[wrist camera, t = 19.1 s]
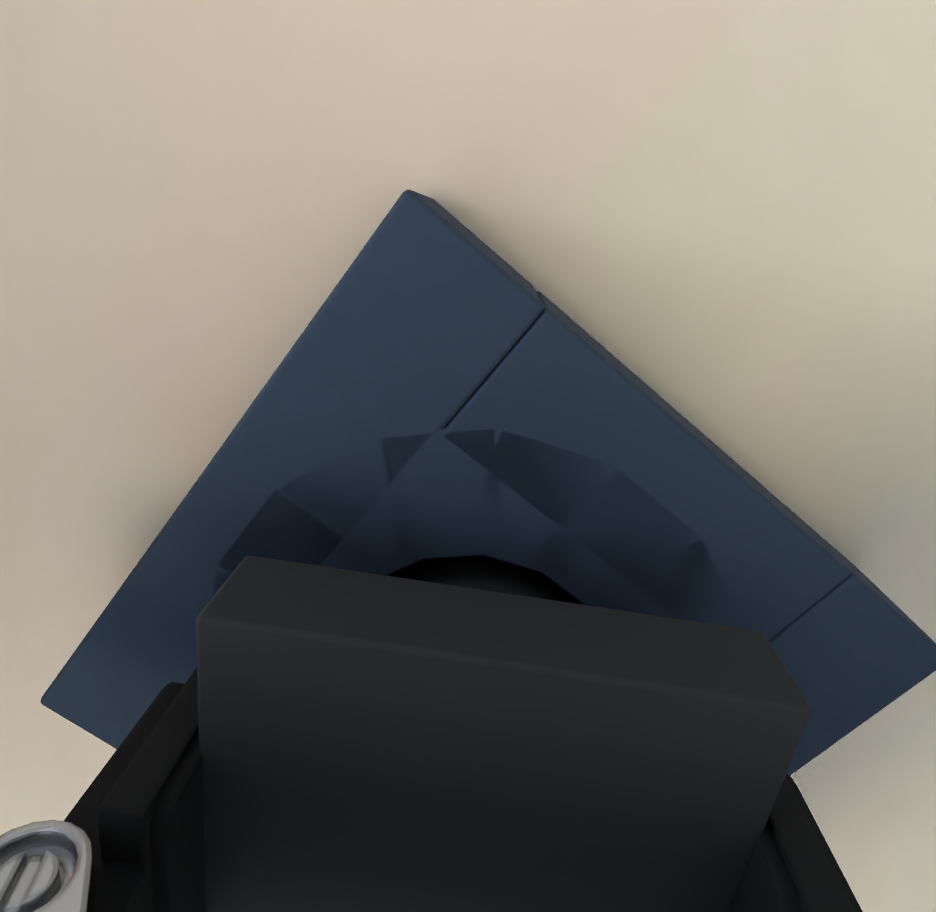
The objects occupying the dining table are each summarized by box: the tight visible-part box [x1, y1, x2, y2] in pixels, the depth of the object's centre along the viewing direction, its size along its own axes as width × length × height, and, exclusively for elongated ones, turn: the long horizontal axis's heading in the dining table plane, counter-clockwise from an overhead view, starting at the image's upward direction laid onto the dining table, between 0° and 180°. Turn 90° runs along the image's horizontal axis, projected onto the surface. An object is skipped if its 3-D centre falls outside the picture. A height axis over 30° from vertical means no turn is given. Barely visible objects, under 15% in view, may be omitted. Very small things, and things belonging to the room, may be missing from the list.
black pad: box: [196, 555, 811, 912], centre depth 11 cm, size 7×7×6 cm
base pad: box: [41, 190, 936, 776], centre depth 13 cm, size 12×12×3 cm
